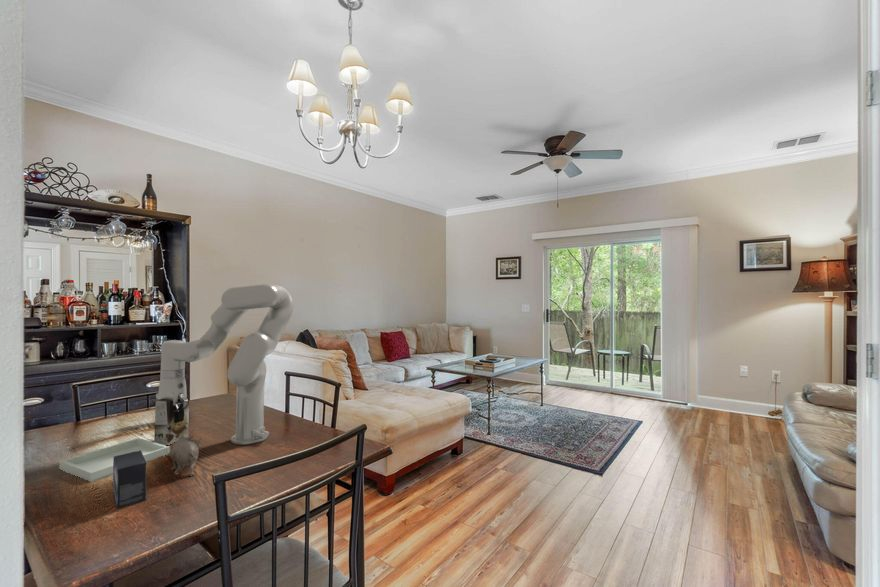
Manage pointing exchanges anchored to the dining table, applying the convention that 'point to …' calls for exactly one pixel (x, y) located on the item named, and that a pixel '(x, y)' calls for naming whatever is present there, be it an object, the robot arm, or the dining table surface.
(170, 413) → the coffee box
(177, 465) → the rhinoceros figurine
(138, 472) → the small box
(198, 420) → the dining table surface
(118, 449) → the tray
